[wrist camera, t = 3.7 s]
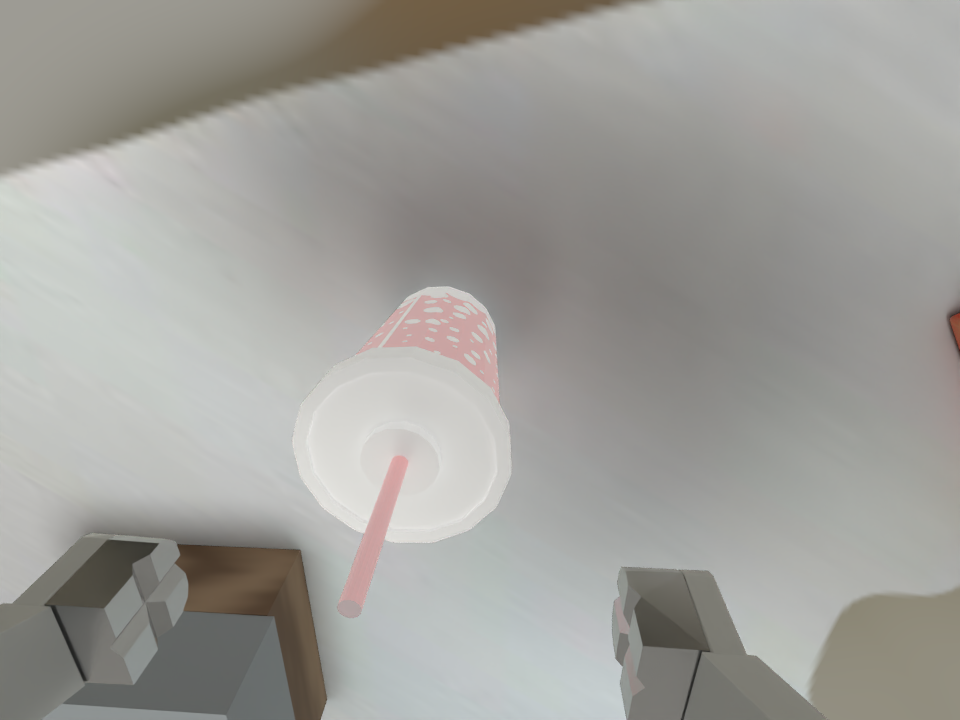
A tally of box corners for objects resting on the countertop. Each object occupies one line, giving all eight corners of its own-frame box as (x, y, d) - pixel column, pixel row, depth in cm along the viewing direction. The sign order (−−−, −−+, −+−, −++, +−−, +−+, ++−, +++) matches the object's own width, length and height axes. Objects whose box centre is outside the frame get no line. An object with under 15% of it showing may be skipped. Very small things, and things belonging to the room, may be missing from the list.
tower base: (302, 544, 29) (267, 615, 25) (329, 693, 34) (302, 772, 30) (88, 535, 30) (19, 601, 25) (144, 682, 34) (93, 758, 30)
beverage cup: (397, 412, 25) (268, 727, 12) (351, 286, 22) (130, 507, 10) (528, 386, 24) (541, 696, 11) (495, 251, 21) (461, 446, 9)
